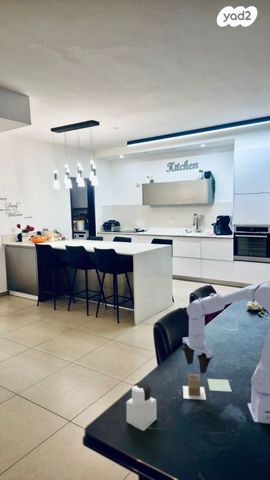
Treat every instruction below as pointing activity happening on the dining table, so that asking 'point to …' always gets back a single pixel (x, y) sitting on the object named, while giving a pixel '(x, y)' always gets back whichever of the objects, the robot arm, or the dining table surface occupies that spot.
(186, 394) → the white tile
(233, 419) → the dining table surface
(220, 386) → the sage mat
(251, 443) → the dining table surface
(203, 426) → the dining table surface
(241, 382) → the dining table surface
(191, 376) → the walnut block
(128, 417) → the medicine bottle
